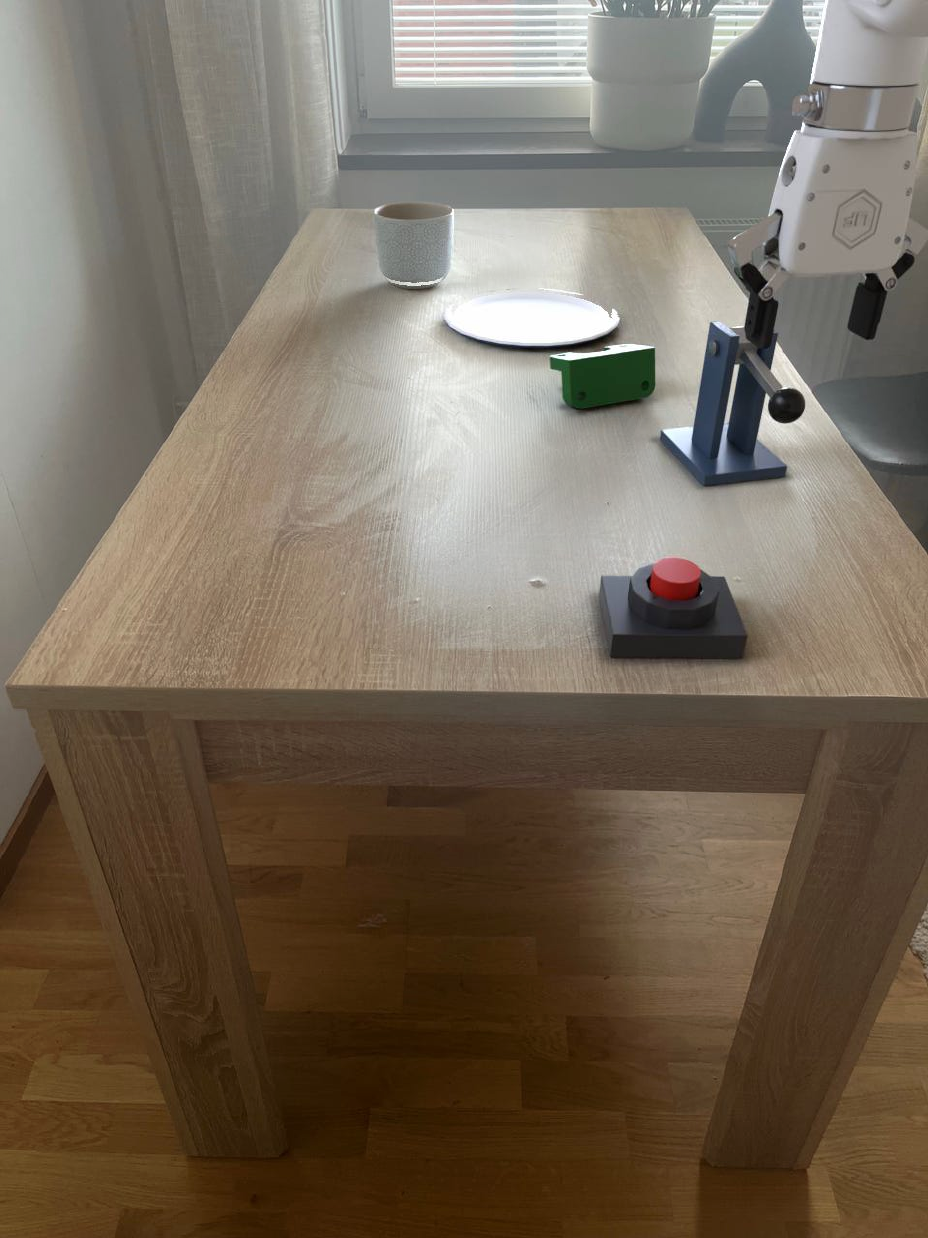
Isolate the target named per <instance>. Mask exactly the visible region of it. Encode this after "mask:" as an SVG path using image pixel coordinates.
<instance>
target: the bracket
mask: <svg viewBox="0 0 928 1238" xmlns="http://www.w3.org/2000/svg"><path fill="white" fill-rule="evenodd" d="M729 328H730V327H728V326H727V325H725V324H723V323H722V322H721V321H710V322H709V327H708V333H707V340H706V346H705V351H704V358H703V365H702V369H701V370H702V371H701V376H700V382H699V383H700V384H699V389H698V396H697V403H696V408H695V414H694V422H693V426H685V427H675V428H666V429H660V434H659V441H660V442H661V443H662V444H663V445H664V446H665V447H666V448H667V449H668V451H670V452H671V453H672V455H674V457H676V459H677V460H678V461H679V462H680V463H681V464H682V465H683V466H684V467H685V468H686V469H687V471H689V472H690V473H691V475H692V476H693V477H694V478H695V479H696V480H697V481H698V482H699V483H700V484H701V485H702V486H703V487H707V486H716V485H717V486H718V485H724V484H725V485H726V484H731V483H733V484H734V483H741V482H750V481H760V480H768V479H776V478H777V479H778V478H784V477H786V474H787V471H788V465H787V464H786V463H784V461H782V460H781V459H780V458H779V457H778V456H777V455H775V453H773V452H772V451H771V450H770V449H769V448H768V447H766V446H765V445H764V444H763V443H762V442H761V441H760V440H758V435H759V431H760V430H759V429H760V425H761V420H762V415H763V410H764V406H765V401H766V395H767V393H766V392H765V391H764V389H763V388H762V387H761V385H760V384H759V383H758V381H757V380H756V379H755V377H754V376H753V375H752V373H751V372H750V371H749V369H748V368H747V367H746V365H745V364H738V370H737V376H736V380H735V386H734V392H733V397H732V398H733V399H732V403H731V409H730V414H729V419H728V422H725V421H726V416H727V415H726V414H727V410H728V405H729V398H730V393H731V387H732V382H733V381H732V380H733V376H734V371H735V366H736V365H735V360H736V354H737V349H738V343H739V338H740V336H739V335H737V334H736V333H735V332H733V331H732V330H730V329H729ZM778 336H779V332H778V331H776V330H775V329H774V331H773V336H772V342H771V346H770V347H769V348H768V349H760V348H759V347H758V350H757V354H758V356H759V357H760V358H761V359H762V361H763V362H764V363H765V365H766V366H767V367H768V368H769V370H770V371H771V372H772V365H773V361H774V356H775V352H776V348H777V347H776V346H777V342H778Z"/></svg>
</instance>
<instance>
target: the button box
mask: <svg viewBox="0 0 928 1238" xmlns="http://www.w3.org/2000/svg"><path fill="white" fill-rule="evenodd" d="M654 564H655V562H652V563H650V564H647V565H644V566H640V567H638V568H637V569H636V571H635V572H634V573H633V575H604V574H603V575H601V576H600V581H599V582H600V583H599V592H598V600H599V605H600V610H601V616H602V622H603V625H604V626H603V627H604V631H605V639H606V643H607V649H608V655H609V657H610V658H626V659H627V658H629V659H630V658H632V659H634V658H637V659H639V658H640V659H641V658H643V659H736V660H737V659H738V660H739V659H743V658H744V653H745V650H746V645H747V641H748V633H747V631H746V628H745V626H744V623H743V620H742V618H741V615H740V613H739V610H738V607H737V604H736V603H735V600H734V597H733V595H732V593H731V590H730V587H729V585H728V582H727V579H726V577H725V576H723V575H722V576H719V575H718V576H717V575H716V576H714V575H713V576H712V575H710V574H708V573H707V572H705V571H704V570H703V569H701V568H699V569H700V571H701V576H700V582H699V587H698V593H697V595H696V596H695V597H694V598H692V599H690V600H687V601H686V600H669V599H665V598H662V597H659V596H657V595H655V594H654V593H653V592H652V591H651V589H650V582H651V575H652V568H653V565H654Z"/></svg>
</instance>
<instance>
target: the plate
mask: <svg viewBox="0 0 928 1238" xmlns="http://www.w3.org/2000/svg"><path fill="white" fill-rule="evenodd" d="M538 288H539V287H538ZM539 289H541V288H539ZM543 289H544V290H549V291H554V292H558V293H562V292H563V293H569V294H573V295H574V294H576V295H577V294H578V295H583V294H582V293H578V292H572V291H566V290H560V289H551V288H543ZM452 303H453V304H452ZM452 303H451V304H452V305H454V302H452ZM451 304H450V305H451ZM450 305H449V306H450ZM452 305H451V306H450V307H449V306H448V307H449V308H448V307H447V308H446V309H447V310H446V309H445V310H444V313H445V315H444V316H443V321H444V322H445V323H446V324H447V326H448V327H449V328H450V329H451V330H453V331H455V332H456V333H457V334H459V335H461V336H463V337H466V338H469V339H472V340H474V341H478V342H482V343H487V344H491V345H496V346H502V347H514V348H523V349H548V348H549V349H550V348H560V347H571V346H576V345H580V344H585V343H590V342H594V341H597V340H598V339H601V338H604V337H606V336H608V335H609V334H611V333H612V332H613V331H615V330H616V329H617V328H618V326H619V323H620V320H621V319H620V316H619V314H618V311H617V310H616V309H614V308H613V309H612V313H611V314H612V315H611V317H612V318H610V317H609V314H608V312H607V311H605V310H604V309H603V308H602V307H601V306H599V305H596V304H594V303H592V302H590V301H587V300H584V299H580V298H576V297H573V296H567V295H561V294H554V293H542V292H512V293H500V294H494V295H488V296H483V297H479V298H476V299H473V300H470V301H468V302H466V303H464V304H462V305H460V306H459V307H458V308H457V309H456V310H455V311H454V316H453V313H452V312H451V309H453V308H452V307H453V306H452ZM617 314H618V315H617ZM618 316H619V317H618Z"/></svg>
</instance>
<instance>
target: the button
mask: <svg viewBox="0 0 928 1238" xmlns="http://www.w3.org/2000/svg"><path fill="white" fill-rule="evenodd" d="M654 563H655V564H654V565H653V568H652V575H651V582H650V589H651V591H652V592H653V593H654V594H655V595H657V596H659V597H662V598H665V599H669V600H686V601H687V600H690V599H692V598H694V597H695V596H696V595H697V593H698V587H699V582H700V576H701V571H700V569H701V568H700V567H699V566H698V565H697V564H696V563H695V562H692V561H690V560H688V559H685V558H681V557H665V558H661V559H659V560H657V561H656V562H654Z"/></svg>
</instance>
